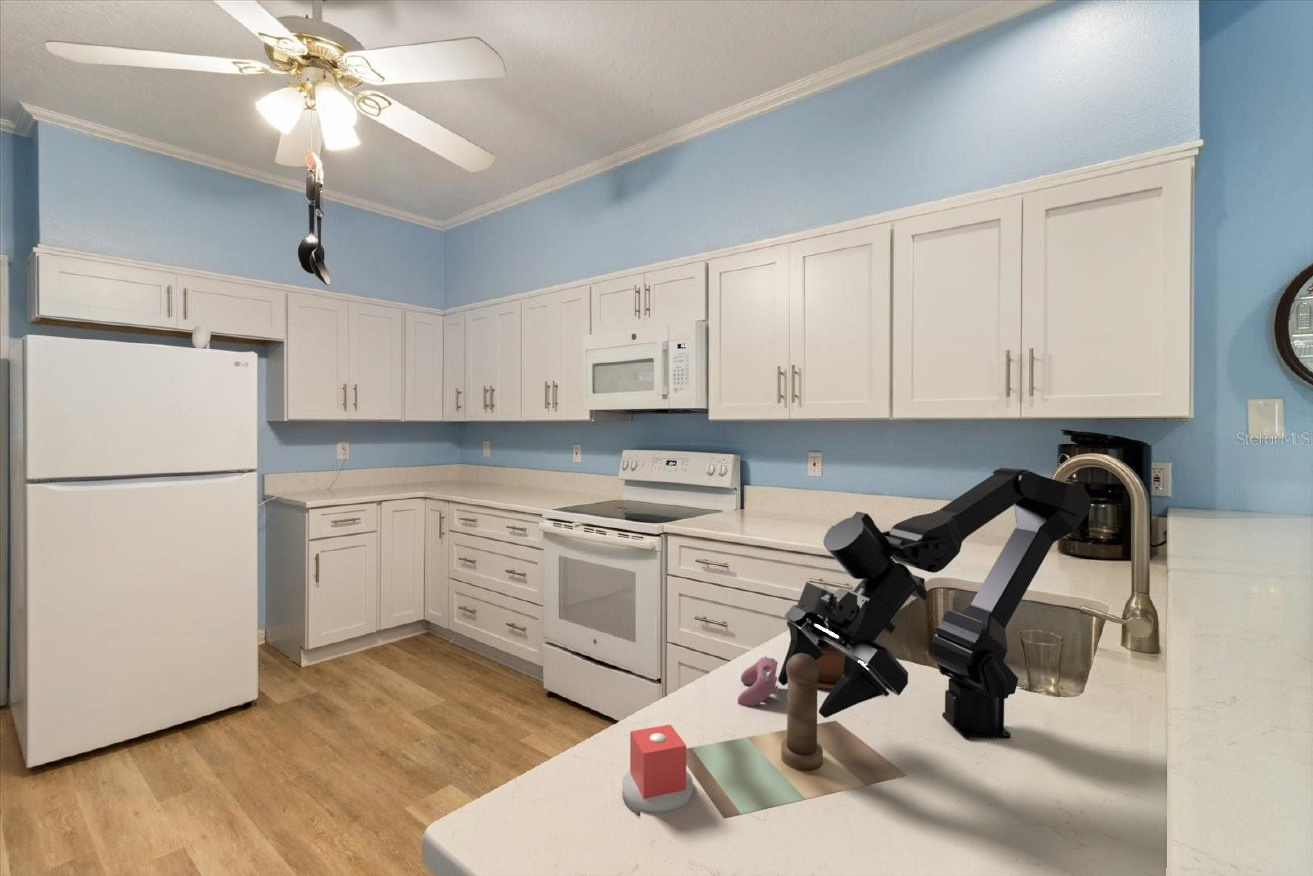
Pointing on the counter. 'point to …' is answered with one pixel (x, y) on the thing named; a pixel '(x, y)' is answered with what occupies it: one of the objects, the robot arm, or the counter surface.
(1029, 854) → the counter surface
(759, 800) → the game track
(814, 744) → the pawn
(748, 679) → the video game controller
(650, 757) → the die stand
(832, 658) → the cup and saucer
